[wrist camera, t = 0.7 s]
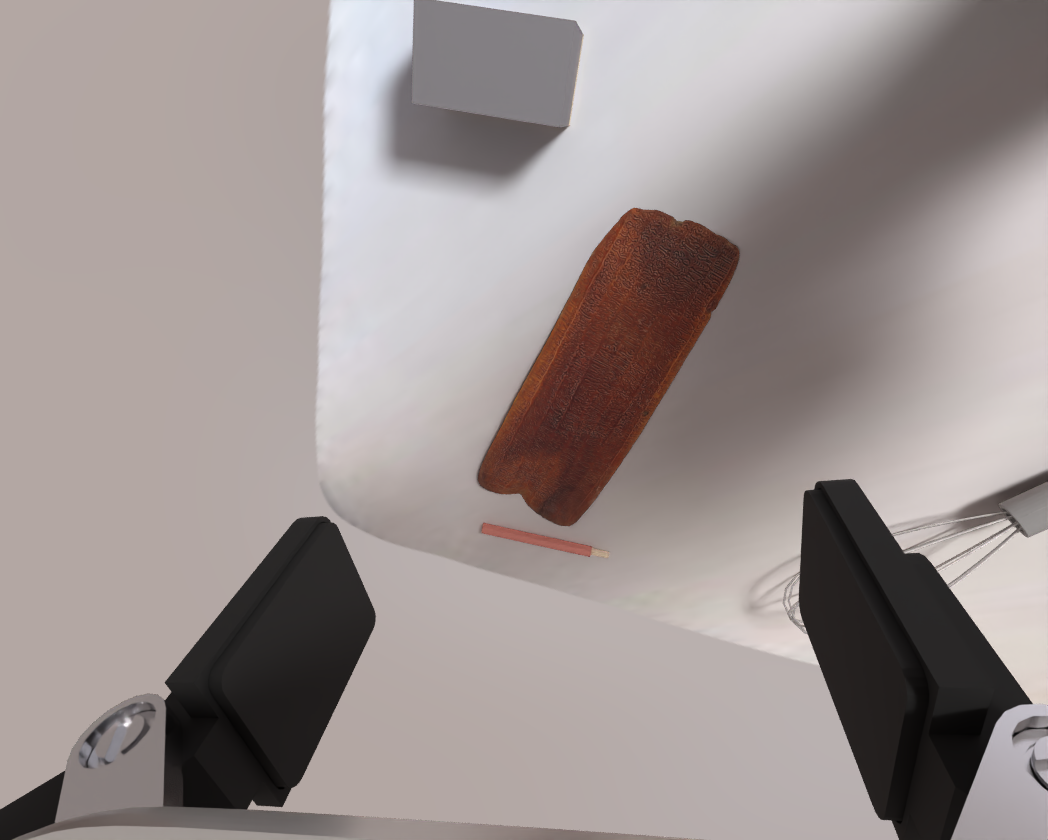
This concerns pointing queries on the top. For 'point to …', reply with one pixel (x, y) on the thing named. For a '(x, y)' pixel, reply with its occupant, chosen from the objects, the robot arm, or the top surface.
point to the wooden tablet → (608, 361)
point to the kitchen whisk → (1024, 511)
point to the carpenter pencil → (542, 541)
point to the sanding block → (495, 62)
